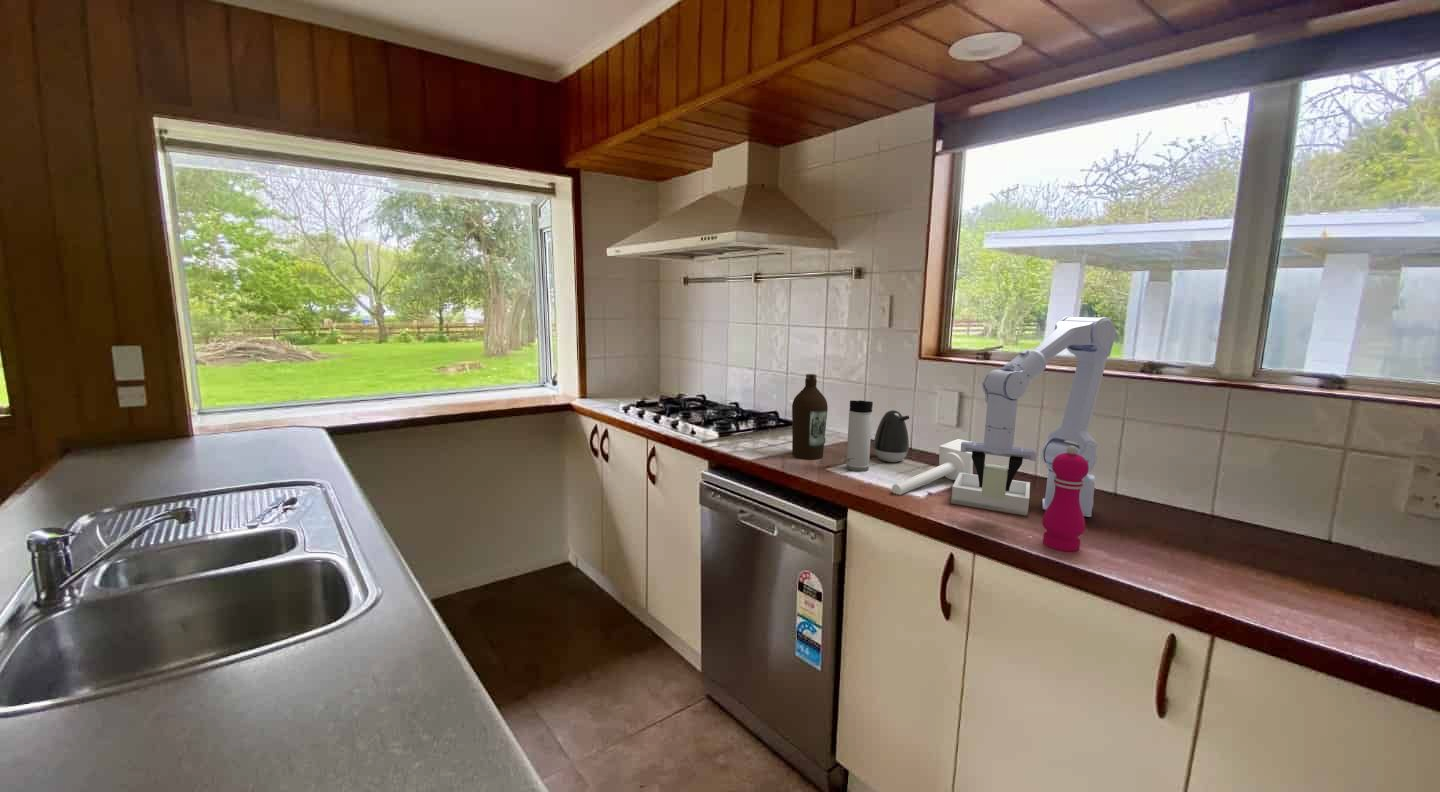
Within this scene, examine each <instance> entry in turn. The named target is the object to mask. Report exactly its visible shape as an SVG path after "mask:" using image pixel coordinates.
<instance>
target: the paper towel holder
mask: <svg viewBox="0 0 1440 792" xmlns="http://www.w3.org/2000/svg"><path fill="white" fill-rule="evenodd" d="M962 442H971V441H969V440H965V439H962V438H961V439H959V438H957V439H955V440H951V441H948V442H946V443H943V444H941V445H939V446H938V447H939V449H938V452H939V454H938V456H939V463H938V464H939V465H938V466H935V467H933V468H929V469H927V470H925V471H923V472H921V473H919V474H916V475H914V476H911V477H909V478H906V479H904V480H902V481H899V482H896V483H894V484H893V485H892V486H891V491H892V494H895V493H896V495H898V494H899V496H902V495H904V494H905V493H908V492H910V491H912V490H915V489H917V488H920V487H921V486H924V485H926V484H928V483H930V482H933V481H935V480H938V479H940V478H943V477H944V476H945V478H948V479H949V480H951V481H956V479H957V476H958V474H959V472H960V473H967V474H974V468H973V467H974V462H973V460H972V452H961V443H962Z"/></svg>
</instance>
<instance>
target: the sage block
mask: <svg viewBox="0 0 1440 792" xmlns="http://www.w3.org/2000/svg"><path fill="white" fill-rule="evenodd" d="M1008 468H1009V466H1005V465H997V464H989V463H985V464H984V472H983V483H982V494H981V496H987V497H993V498H999V499H1005V494H1006V483H1007V478H1008Z"/></svg>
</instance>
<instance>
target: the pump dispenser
mask: <svg viewBox="0 0 1440 792" xmlns="http://www.w3.org/2000/svg"><path fill="white" fill-rule="evenodd" d="M909 419H910V415H902V414H901V413H900V412H899V411H898V410H894V409H891V410H888V411H887V412H885V413H884V415H883V416H882V418H881V419H880V421H879V424H878V425H877V428H876V432H875V434H874V435H875V436H874V440H873V449H874V453H875V455H876V457H877V458H879V460H882V461H883V462H886V461H887V462H888V463H898V461H899V462H900V461H902V460H904V459H905V458H906V457H907V454H908V451H909V450H910V442H909V441H910V440H909V433H908V428H907V424H906V422H905V421H907V420H909Z"/></svg>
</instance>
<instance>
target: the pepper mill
mask: <svg viewBox="0 0 1440 792" xmlns="http://www.w3.org/2000/svg"><path fill="white" fill-rule="evenodd" d="M1077 451H1078V450H1077V448H1076V447H1075V446H1069V447H1068V448H1067V452H1068V453H1063V454H1060V455H1058V456H1056V457H1055V459H1054V460H1053V463H1052V469H1053V471H1054V473H1055V474H1056V476H1054V481H1053V483H1054V484H1055V493H1054V497H1053V500H1052V502H1051V503H1050V505H1049V506H1048V508H1047V509H1046V510H1044V514H1043V515H1042V520H1041V524H1042V527H1044V529H1045V532H1044V533H1043V536H1042V543H1043V544H1044V545H1045V546H1047V547H1049V548H1051V549H1054V550H1057V551H1062V552H1072V553H1073V552H1077V551H1080V548H1081V539H1080V538H1079V537H1081V536H1082V535H1083V533H1085V531H1086V519H1085V516H1083V513H1082V510H1081V507H1080V502H1079V494H1080V489H1082V488H1083V483H1084V481H1083V480H1082V479H1083V478H1084V477H1085V476H1086V475H1087V473H1088V470H1089V467H1088V463H1087V461H1086V460H1085V459H1084V458H1083V457H1082V456H1080V455H1077V454H1076V453H1077ZM1088 474H1089V473H1088Z"/></svg>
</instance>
